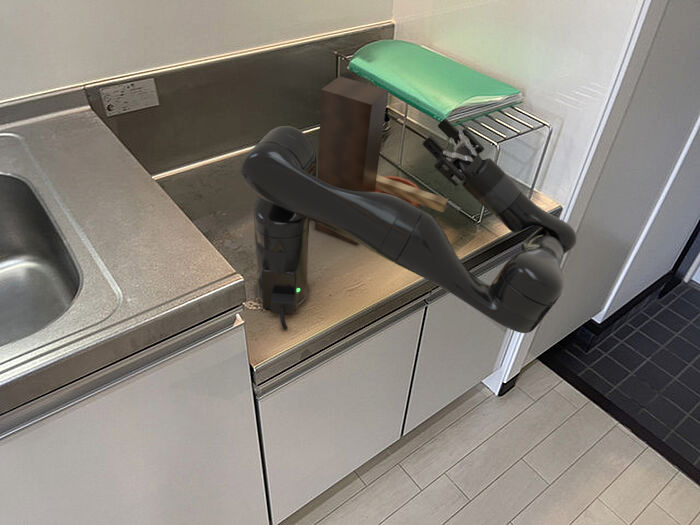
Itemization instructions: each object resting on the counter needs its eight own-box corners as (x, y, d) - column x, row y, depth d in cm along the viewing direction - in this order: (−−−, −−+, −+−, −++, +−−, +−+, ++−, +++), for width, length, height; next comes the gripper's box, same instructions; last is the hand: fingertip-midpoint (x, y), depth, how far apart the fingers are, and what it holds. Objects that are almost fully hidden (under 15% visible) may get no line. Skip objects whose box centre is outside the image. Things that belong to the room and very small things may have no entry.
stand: (370, 227, 120) (388, 90, 98) (355, 245, 115) (371, 104, 94) (330, 212, 123) (339, 76, 101) (315, 229, 118) (321, 89, 97)
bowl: (418, 232, 120) (423, 211, 116) (361, 228, 120) (364, 206, 116) (415, 199, 129) (419, 178, 125) (363, 194, 129) (365, 173, 125)
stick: (446, 207, 118) (448, 199, 116) (443, 212, 116) (445, 204, 115) (348, 172, 125) (349, 164, 123) (344, 177, 123) (344, 169, 122)
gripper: (468, 215, 106) (408, 157, 105) (488, 181, 116) (434, 127, 115) (495, 194, 101) (432, 133, 99) (514, 160, 111) (457, 104, 109)
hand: (433, 130), depth 107 cm, fingers open, 8 cm apart
